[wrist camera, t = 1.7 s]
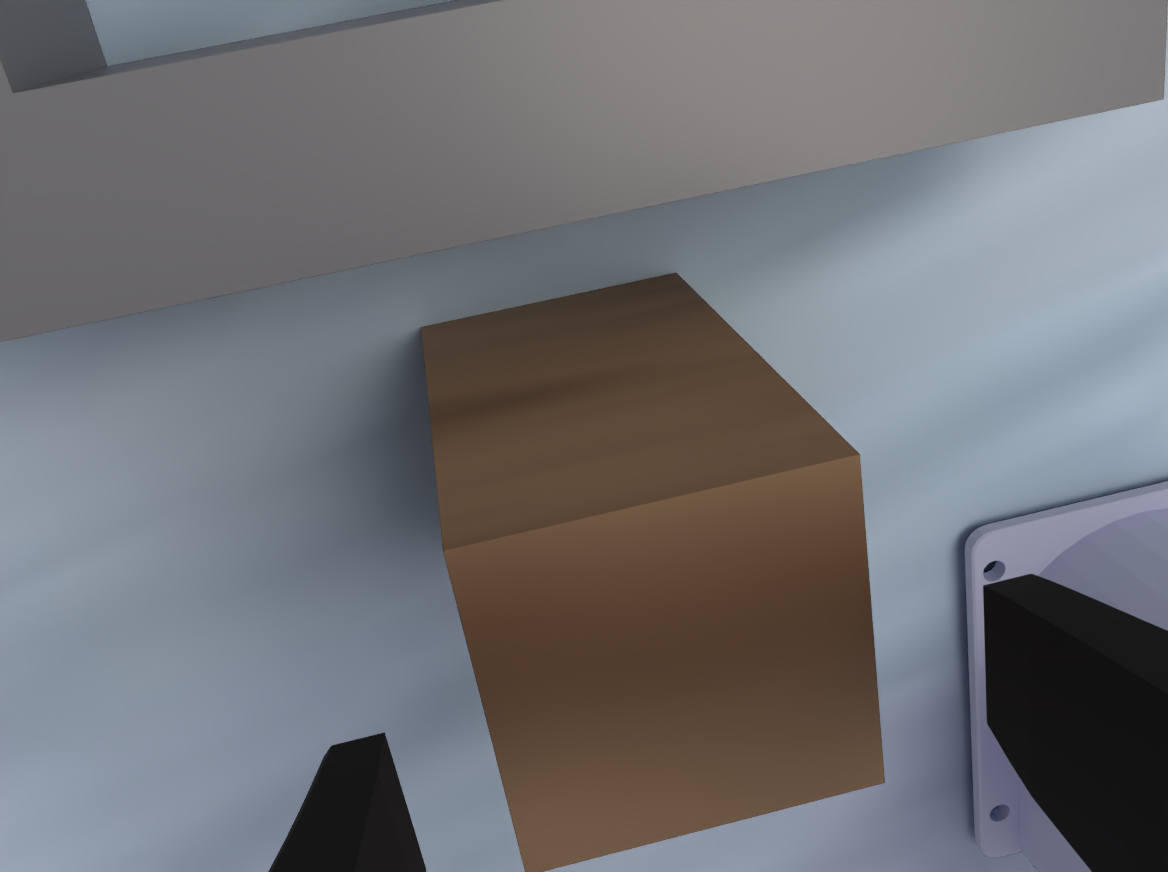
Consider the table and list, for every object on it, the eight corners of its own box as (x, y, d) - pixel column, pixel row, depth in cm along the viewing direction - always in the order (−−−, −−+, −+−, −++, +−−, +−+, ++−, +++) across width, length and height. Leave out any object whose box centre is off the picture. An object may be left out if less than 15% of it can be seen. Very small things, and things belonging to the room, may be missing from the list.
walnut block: (708, 500, 23) (884, 782, 15) (475, 554, 23) (526, 876, 15) (676, 272, 21) (859, 453, 13) (420, 326, 21) (442, 550, 13)
